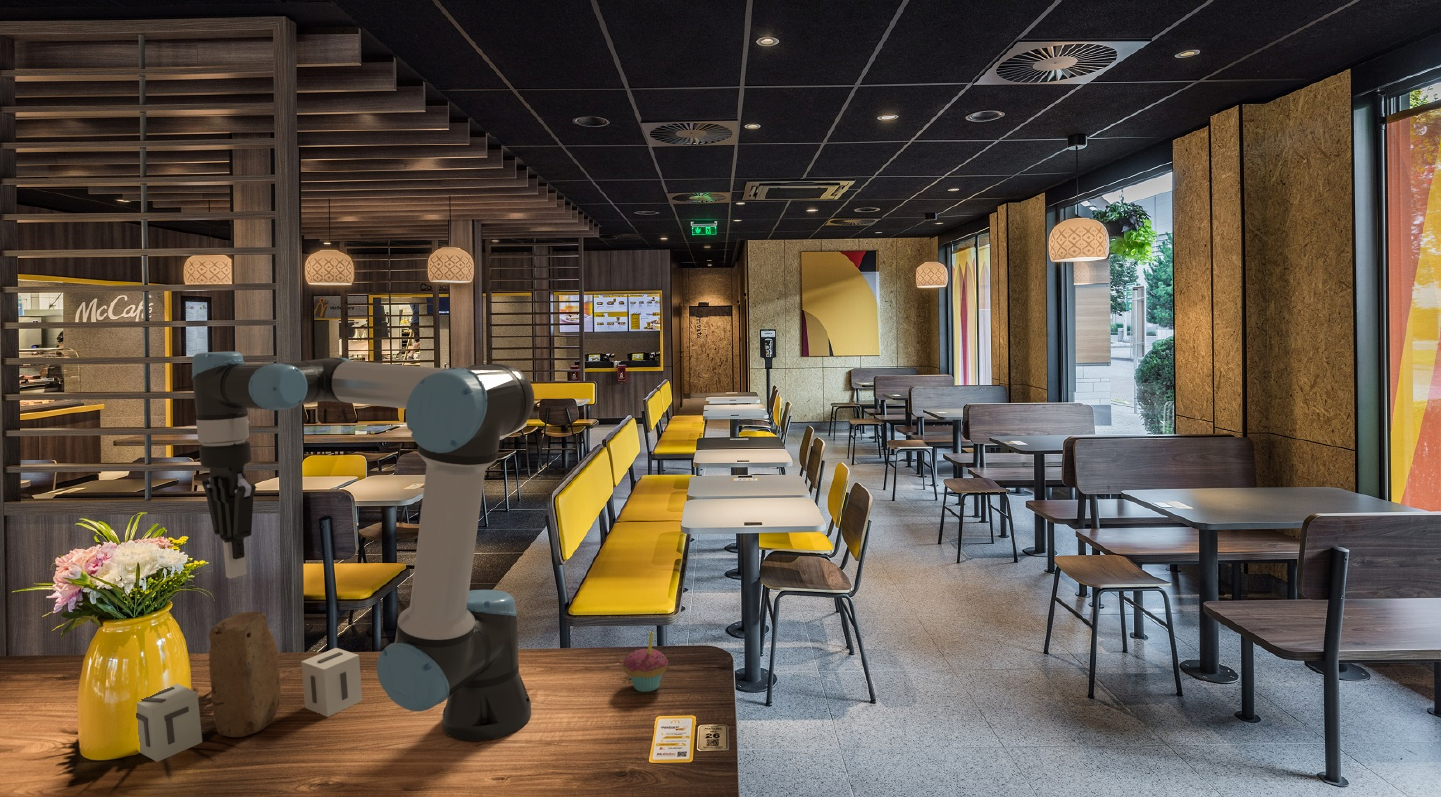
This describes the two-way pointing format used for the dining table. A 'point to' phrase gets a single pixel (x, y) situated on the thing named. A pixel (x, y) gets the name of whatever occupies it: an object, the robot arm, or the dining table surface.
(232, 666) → the block
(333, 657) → the numbered cube one
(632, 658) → the cupcake
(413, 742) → the dining table surface
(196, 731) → the numbered cube seven
